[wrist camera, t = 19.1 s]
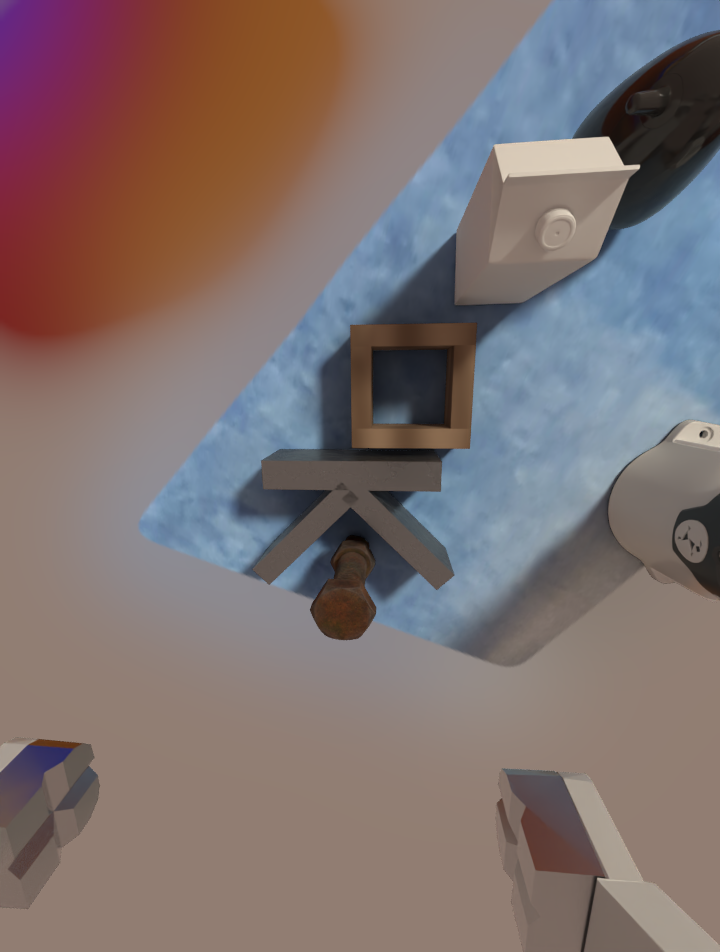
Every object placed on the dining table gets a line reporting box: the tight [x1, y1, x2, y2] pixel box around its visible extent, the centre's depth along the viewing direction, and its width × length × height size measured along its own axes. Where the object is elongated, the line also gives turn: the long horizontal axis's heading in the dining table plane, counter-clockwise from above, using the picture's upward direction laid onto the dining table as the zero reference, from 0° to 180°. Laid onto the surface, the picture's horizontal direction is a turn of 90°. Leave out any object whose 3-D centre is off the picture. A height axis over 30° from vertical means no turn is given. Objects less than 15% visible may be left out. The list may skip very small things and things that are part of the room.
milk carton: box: [455, 137, 640, 305], centre depth 31 cm, size 7×7×19 cm
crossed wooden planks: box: [252, 449, 454, 590], centre depth 44 cm, size 22×14×7 cm, turn 90°
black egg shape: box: [572, 30, 720, 230], centre depth 31 cm, size 10×10×15 cm
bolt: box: [310, 535, 376, 640], centre depth 41 cm, size 6×5×15 cm
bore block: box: [350, 323, 477, 449], centre depth 41 cm, size 12×12×5 cm
